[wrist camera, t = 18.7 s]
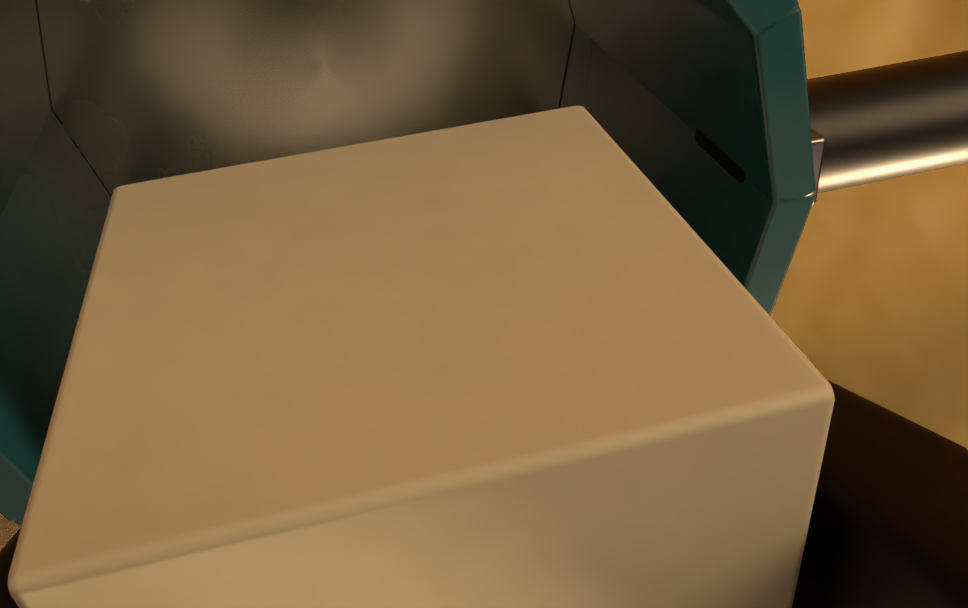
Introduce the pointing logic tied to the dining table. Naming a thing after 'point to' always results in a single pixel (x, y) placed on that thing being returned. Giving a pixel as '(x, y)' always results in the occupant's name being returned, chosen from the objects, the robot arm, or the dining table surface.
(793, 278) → the dining table surface
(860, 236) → the dining table surface
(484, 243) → the block
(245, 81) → the saucepan
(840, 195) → the dining table surface
